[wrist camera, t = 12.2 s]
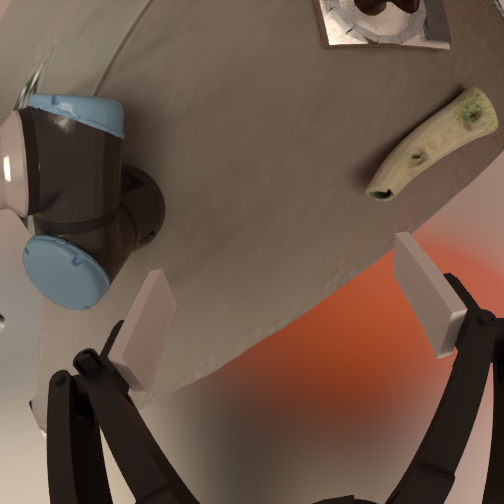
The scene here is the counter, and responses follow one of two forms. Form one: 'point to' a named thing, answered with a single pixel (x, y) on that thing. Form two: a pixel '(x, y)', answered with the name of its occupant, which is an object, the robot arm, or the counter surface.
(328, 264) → the counter surface
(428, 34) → the white flat device
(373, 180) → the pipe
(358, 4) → the figurine
